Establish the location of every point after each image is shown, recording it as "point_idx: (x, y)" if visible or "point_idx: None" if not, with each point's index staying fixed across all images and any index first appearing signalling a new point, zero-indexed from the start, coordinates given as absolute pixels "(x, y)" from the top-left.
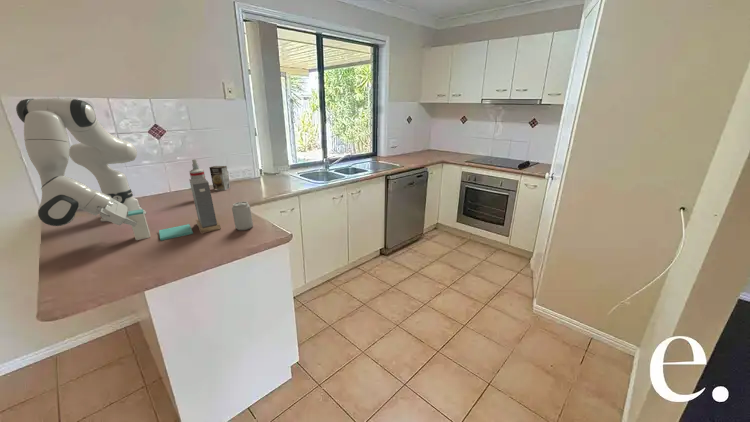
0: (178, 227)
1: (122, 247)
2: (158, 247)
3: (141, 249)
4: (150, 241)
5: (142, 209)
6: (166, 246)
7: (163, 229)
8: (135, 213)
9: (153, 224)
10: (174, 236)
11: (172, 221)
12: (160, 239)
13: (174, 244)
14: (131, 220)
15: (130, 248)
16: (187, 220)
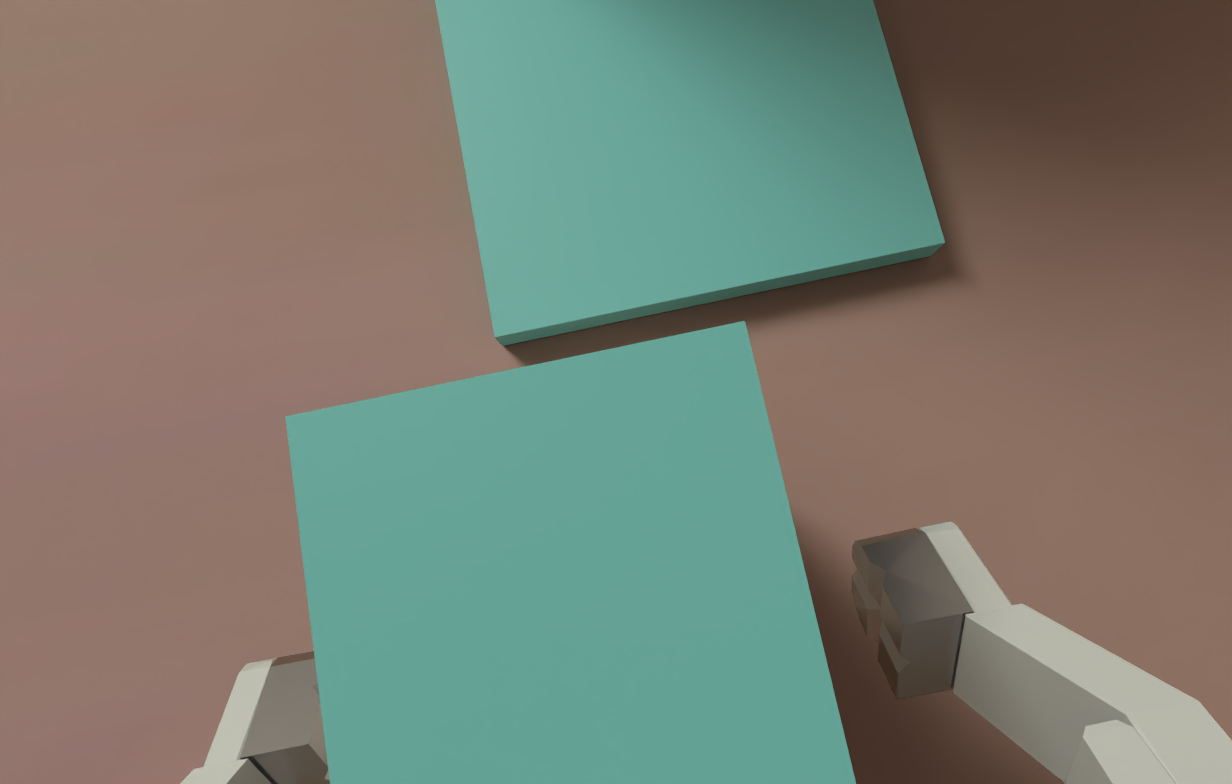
0: (517, 70)
1: (988, 763)
2: (1217, 233)
3: (1206, 450)
4: (892, 395)
5: (367, 413)
6: (1219, 137)
7: (494, 274)
8: (795, 563)
9: (3, 521)
10: (889, 79)
11: (27, 250)
12: (939, 246)
13: (1179, 50)
14: (1056, 638)
15: (1091, 624)
16: (120, 41)
